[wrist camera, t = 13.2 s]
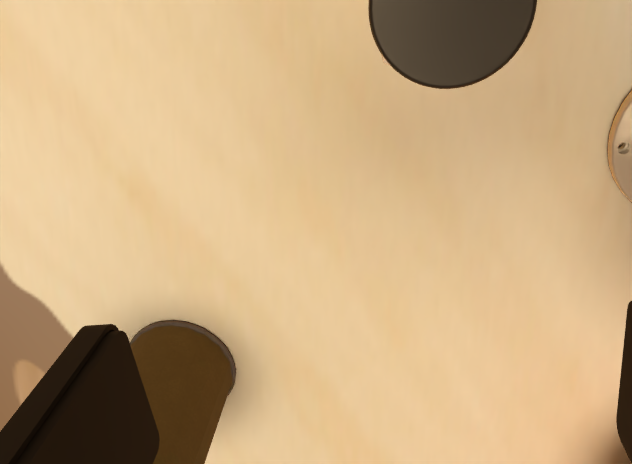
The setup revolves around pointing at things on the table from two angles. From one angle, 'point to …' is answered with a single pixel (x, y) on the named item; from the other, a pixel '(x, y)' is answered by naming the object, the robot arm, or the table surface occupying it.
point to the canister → (183, 386)
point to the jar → (449, 37)
